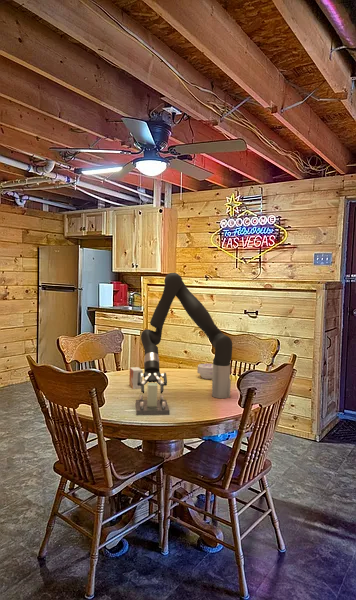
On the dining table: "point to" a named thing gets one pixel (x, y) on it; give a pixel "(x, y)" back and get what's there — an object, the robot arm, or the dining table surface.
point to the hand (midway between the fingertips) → (152, 392)
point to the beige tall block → (152, 395)
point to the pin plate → (159, 410)
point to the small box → (134, 377)
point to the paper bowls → (205, 371)
